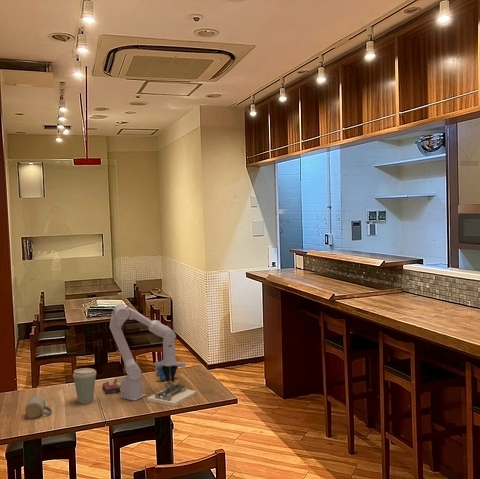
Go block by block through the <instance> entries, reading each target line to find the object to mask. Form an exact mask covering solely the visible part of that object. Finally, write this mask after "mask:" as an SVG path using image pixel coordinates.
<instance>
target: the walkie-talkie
mask: <svg viewBox="0 0 480 479" xmlns="http://www.w3.org/2000/svg"><path fill="white" fill-rule="evenodd" d="M103 389H104V390H103ZM102 390H103V391H104V393H105V395H106V394H110V395H115V393H116V394H119V393H121V381H118V380H117V378H114V381H113V380H112V379H109V380H107V381H106V382H103V383H102Z"/></svg>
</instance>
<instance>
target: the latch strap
mask: <svg viewBox="0 0 480 479" xmlns="http://www.w3.org/2000/svg"><path fill="white" fill-rule="evenodd" d="M184 387H186V385H185V384H182V383H181V384H179V385H175V384H174V386H173V387H171V388H169V389H167V390H165V391H163V392H161V393H159V396H164V397H166V395H167V394H172V393H174V392H176V391H178V390H180V389H182V388H184Z"/></svg>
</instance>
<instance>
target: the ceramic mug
mask: <svg viewBox="0 0 480 479" xmlns="http://www.w3.org/2000/svg"><path fill="white" fill-rule="evenodd" d="M45 400H46V399H44V397H42V396H40V395H32V396H31V397H30V398H28V400H27V402H26V405H25V408H24V411H25V414H26V416H27V418H30V419H36V418H39V417H40V416H41V415H43V416H51V414H52V413H53V409H52V408H51V407H49V406H48V405H46V401H45ZM44 410H45V411H44Z"/></svg>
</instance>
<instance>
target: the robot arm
mask: <svg viewBox="0 0 480 479" xmlns="http://www.w3.org/2000/svg"><path fill="white" fill-rule="evenodd" d="M127 320H130V321H131V320H135V321H137V322H139V323H141V324H143V325H145V326H146V327H147V328H148V331H149V332H151V333H153V334H154V335H155V336H158V337H160V338H162V353H163V354H162V355H163V357H162V358H163V359H164V361H161V360H159V361H155V362H154V367H156V368H157V366H163V367H162V370H163V372H164V374H165V376H166V379H167V380H166V379H165V380H166V383H167V382H171V381H173V380H175V376H176V374H177V370H178V367H180V368H184V367H186V362H185V361H177V359H176V343H175V339H176V337H177V334H176V333H175V331H174V329H171V328H170V327H169V326H168V325H165V324H163V323H162V322H161V321H160V320H156V319H154V320H151V319H149V318H148V317H146V316H145V315H143V314H141V313H140V312H139V311H137V310H136V309H133V308H130V307H129V306H126V305H124V304H117V305H115V307H114V308H113V310H112V311H111V317H110V321H109V330H110V332H111V333H112V334H111V335H112V337H113V339H114V341H115V344H116V345H117V346H116V347H117V348H118V350H119V353H120V355H121V357H122V360H123V363H124V366H125V367H124V369H125V373H126V374H127V375H126V376H124V377H123V378H122V379H121V381H120V383H121V388H120V390H121V392H120V393H121V395H120V396H119V397H120V398H121V399H125V400H130V401H138V400H139V399H142V398H144V397H146V396H147V394H145V393H143V386H142V370H141V368H140V367H139V364H138V363H137V362H136V361H135V359H134V357H133V355H132V354H133V353H132V352H131V350H130V347H129V345H128V342H127V340H126V337H125V335H124V332H123V331H122V327H123V324H124V323H125V322H126V321H127ZM170 366H172V367H171V368H170ZM169 370H170V371H171V378H170V375H169ZM175 373H176V374H175ZM170 380H171V381H170Z"/></svg>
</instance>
